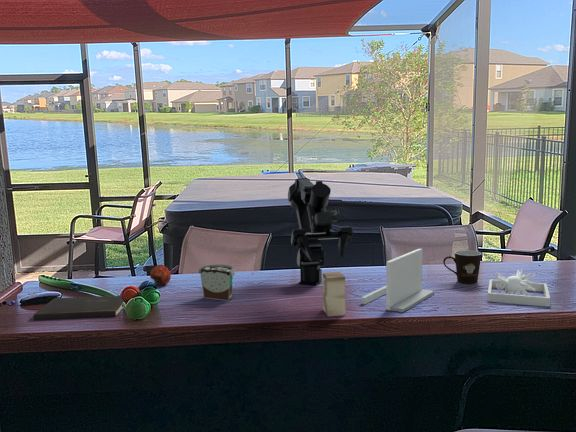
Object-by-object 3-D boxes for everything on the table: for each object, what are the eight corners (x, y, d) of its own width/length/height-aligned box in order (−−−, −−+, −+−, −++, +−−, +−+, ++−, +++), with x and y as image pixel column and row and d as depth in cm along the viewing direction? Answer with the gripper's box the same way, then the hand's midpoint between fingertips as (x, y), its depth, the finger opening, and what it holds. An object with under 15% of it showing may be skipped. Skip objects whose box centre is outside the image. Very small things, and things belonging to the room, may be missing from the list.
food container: (243, 296, 168) (241, 265, 167) (233, 301, 162) (231, 269, 161) (210, 292, 173) (209, 262, 172) (199, 297, 168) (198, 267, 166)
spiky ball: (496, 292, 169) (494, 266, 168) (538, 292, 164) (536, 265, 163) (494, 301, 159) (491, 274, 158) (538, 301, 153) (535, 273, 153)
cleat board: (359, 304, 156) (359, 258, 154) (393, 287, 173) (393, 245, 172) (403, 312, 148) (403, 264, 146) (434, 294, 165) (434, 250, 163)
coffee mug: (483, 280, 179) (484, 251, 178) (477, 286, 172) (478, 256, 171) (449, 276, 186) (449, 248, 184) (442, 282, 179) (442, 253, 177)
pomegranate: (162, 294, 180) (180, 273, 185) (148, 280, 177) (167, 258, 182) (152, 293, 186) (170, 271, 191) (138, 279, 182) (157, 258, 187)
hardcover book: (54, 305, 165) (54, 298, 165) (129, 302, 167) (128, 295, 166) (33, 322, 149) (32, 314, 149) (115, 318, 151) (115, 311, 150)
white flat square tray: (487, 301, 156) (487, 293, 156) (489, 286, 171) (489, 279, 171) (549, 306, 150) (550, 298, 149) (546, 291, 165) (546, 283, 165)
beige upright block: (323, 309, 152) (322, 272, 151) (339, 308, 153) (339, 271, 152) (328, 316, 146) (327, 277, 145) (345, 315, 147) (345, 276, 146)
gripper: (291, 202, 157) (298, 245, 148) (351, 200, 160) (362, 242, 151) (287, 225, 166) (294, 267, 157) (345, 222, 169) (355, 263, 160)
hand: (326, 259), depth 156 cm, fingers open, 9 cm apart
